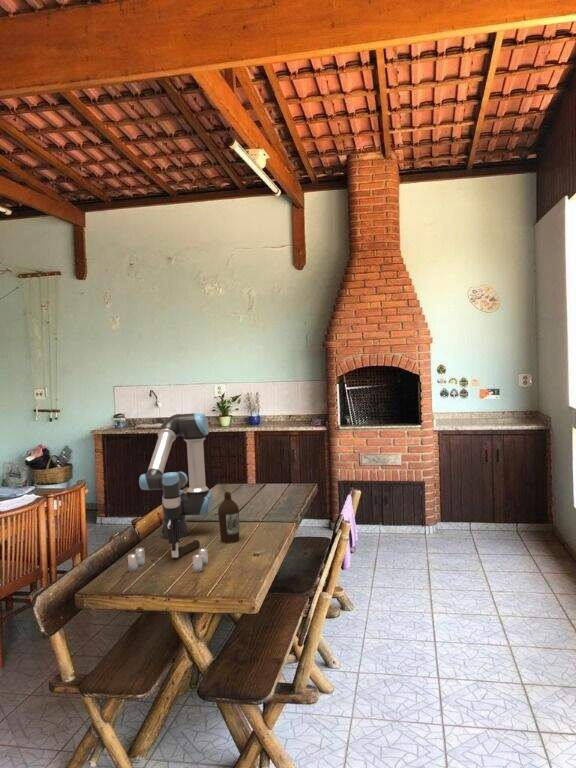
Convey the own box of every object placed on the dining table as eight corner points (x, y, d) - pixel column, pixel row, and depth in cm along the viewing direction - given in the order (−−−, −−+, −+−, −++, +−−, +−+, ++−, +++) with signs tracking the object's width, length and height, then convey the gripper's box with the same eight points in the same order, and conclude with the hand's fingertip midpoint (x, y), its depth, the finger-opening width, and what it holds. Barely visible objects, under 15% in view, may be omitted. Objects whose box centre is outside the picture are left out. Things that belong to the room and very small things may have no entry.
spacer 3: (195, 569, 253) (194, 553, 252) (203, 569, 252) (202, 553, 252) (192, 572, 249) (191, 556, 249) (201, 572, 248) (200, 556, 248)
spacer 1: (131, 568, 258) (130, 553, 257) (139, 568, 257) (138, 553, 257) (127, 572, 254) (126, 556, 253) (135, 572, 253) (134, 556, 253)
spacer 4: (200, 562, 261) (199, 547, 260) (209, 562, 260) (208, 547, 260) (197, 566, 257) (197, 550, 256) (206, 566, 256) (205, 550, 256)
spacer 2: (138, 562, 265) (137, 547, 265) (146, 562, 265) (145, 547, 265) (134, 565, 262) (133, 550, 261) (143, 565, 261) (142, 550, 261)
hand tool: (193, 547, 284) (193, 537, 284) (200, 547, 282) (199, 538, 282) (168, 559, 268) (167, 549, 268) (175, 560, 266) (174, 550, 266)
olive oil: (216, 540, 294) (213, 491, 293) (234, 535, 300) (231, 488, 299) (225, 544, 285) (222, 495, 284) (244, 540, 291) (241, 491, 290)
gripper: (175, 509, 258) (178, 561, 258) (184, 502, 270) (187, 552, 271) (159, 510, 259) (162, 561, 260) (169, 503, 272) (172, 552, 272)
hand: (175, 556), depth 265 cm, fingers closed
